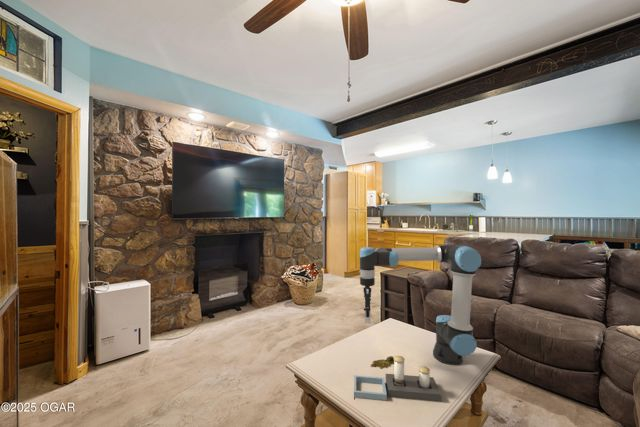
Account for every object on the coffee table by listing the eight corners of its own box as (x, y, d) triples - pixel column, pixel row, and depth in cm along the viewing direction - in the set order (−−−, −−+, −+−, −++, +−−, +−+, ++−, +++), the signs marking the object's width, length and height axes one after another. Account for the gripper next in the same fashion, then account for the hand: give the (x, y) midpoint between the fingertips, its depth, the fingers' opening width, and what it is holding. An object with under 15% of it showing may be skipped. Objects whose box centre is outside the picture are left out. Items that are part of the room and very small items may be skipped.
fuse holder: (433, 385, 125) (433, 377, 125) (441, 403, 113) (441, 394, 113) (385, 381, 128) (385, 373, 128) (388, 398, 116) (388, 389, 116)
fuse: (428, 388, 122) (428, 366, 122) (431, 395, 117) (430, 372, 117) (417, 387, 122) (417, 365, 122) (420, 394, 118) (420, 371, 118)
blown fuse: (403, 386, 123) (403, 356, 123) (405, 392, 119) (405, 361, 119) (393, 385, 124) (393, 355, 124) (394, 391, 119) (394, 360, 119)
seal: (375, 376, 134) (399, 369, 140) (376, 367, 134) (400, 361, 140) (365, 364, 143) (388, 358, 149) (366, 356, 142) (388, 350, 148)
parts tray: (383, 384, 125) (383, 377, 125) (386, 402, 114) (386, 394, 114) (354, 382, 127) (354, 375, 127) (353, 399, 116) (353, 391, 116)
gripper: (360, 271, 151) (360, 308, 151) (359, 283, 127) (359, 327, 127) (373, 272, 150) (374, 309, 150) (375, 283, 125) (375, 328, 125)
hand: (367, 317), depth 138 cm, fingers open, 13 cm apart
